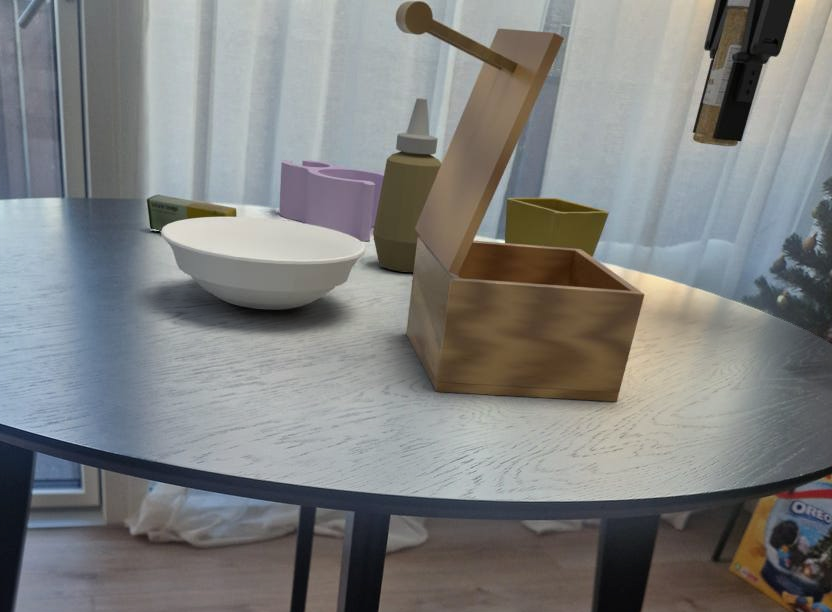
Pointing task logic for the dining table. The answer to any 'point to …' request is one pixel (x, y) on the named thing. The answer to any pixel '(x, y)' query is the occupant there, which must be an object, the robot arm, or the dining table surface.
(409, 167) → the squeeze bottle
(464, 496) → the dining table surface
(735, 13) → the sprinkles bottle
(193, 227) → the bowl
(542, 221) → the flower pot
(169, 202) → the medication box
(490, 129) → the chest lid
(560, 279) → the chest
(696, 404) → the dining table surface
